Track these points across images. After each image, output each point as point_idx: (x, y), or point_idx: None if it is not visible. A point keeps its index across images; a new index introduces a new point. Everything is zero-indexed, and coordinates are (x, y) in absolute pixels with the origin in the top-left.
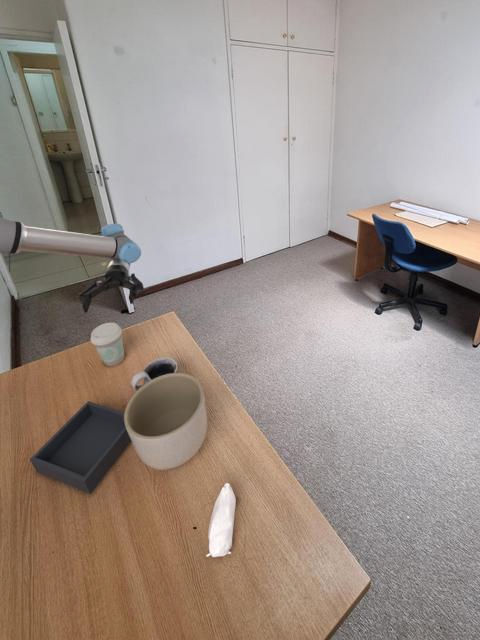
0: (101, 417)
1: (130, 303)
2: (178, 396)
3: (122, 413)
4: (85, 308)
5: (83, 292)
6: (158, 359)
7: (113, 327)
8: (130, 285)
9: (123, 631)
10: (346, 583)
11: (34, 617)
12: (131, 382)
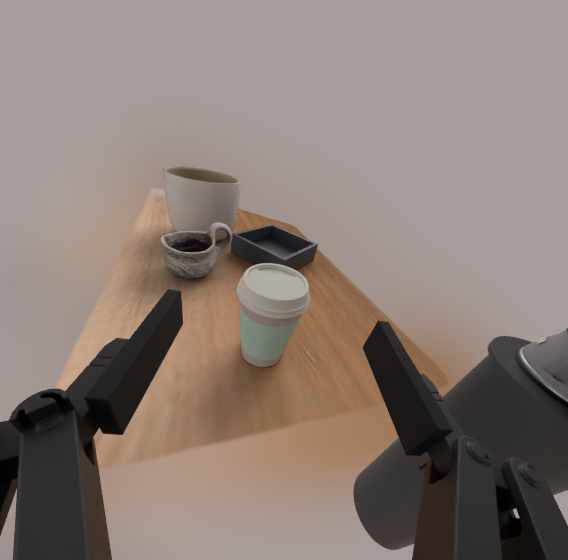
0: None
1: (182, 321)
2: (185, 216)
3: (245, 239)
4: (372, 332)
5: (527, 501)
6: (183, 252)
7: (256, 282)
8: (82, 462)
9: (248, 212)
10: (158, 189)
11: (284, 224)
12: (231, 233)
